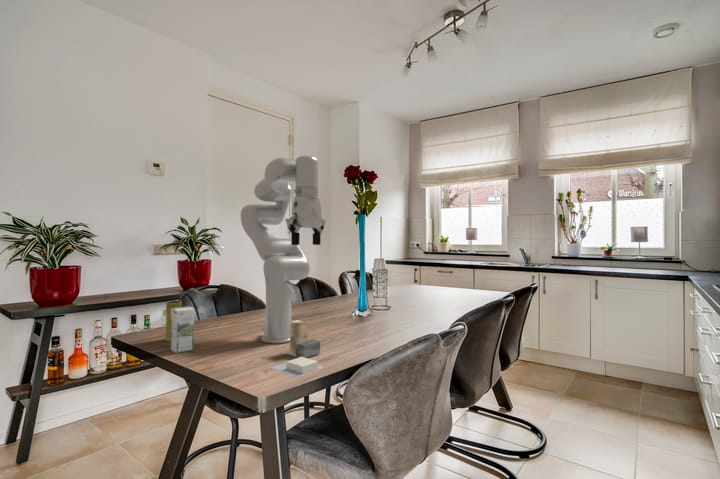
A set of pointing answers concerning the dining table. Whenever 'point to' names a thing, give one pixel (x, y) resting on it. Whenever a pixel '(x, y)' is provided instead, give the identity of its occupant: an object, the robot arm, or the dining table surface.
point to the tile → (302, 365)
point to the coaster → (291, 353)
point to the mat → (283, 369)
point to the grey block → (302, 340)
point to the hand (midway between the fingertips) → (306, 244)
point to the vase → (168, 317)
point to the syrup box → (182, 329)
